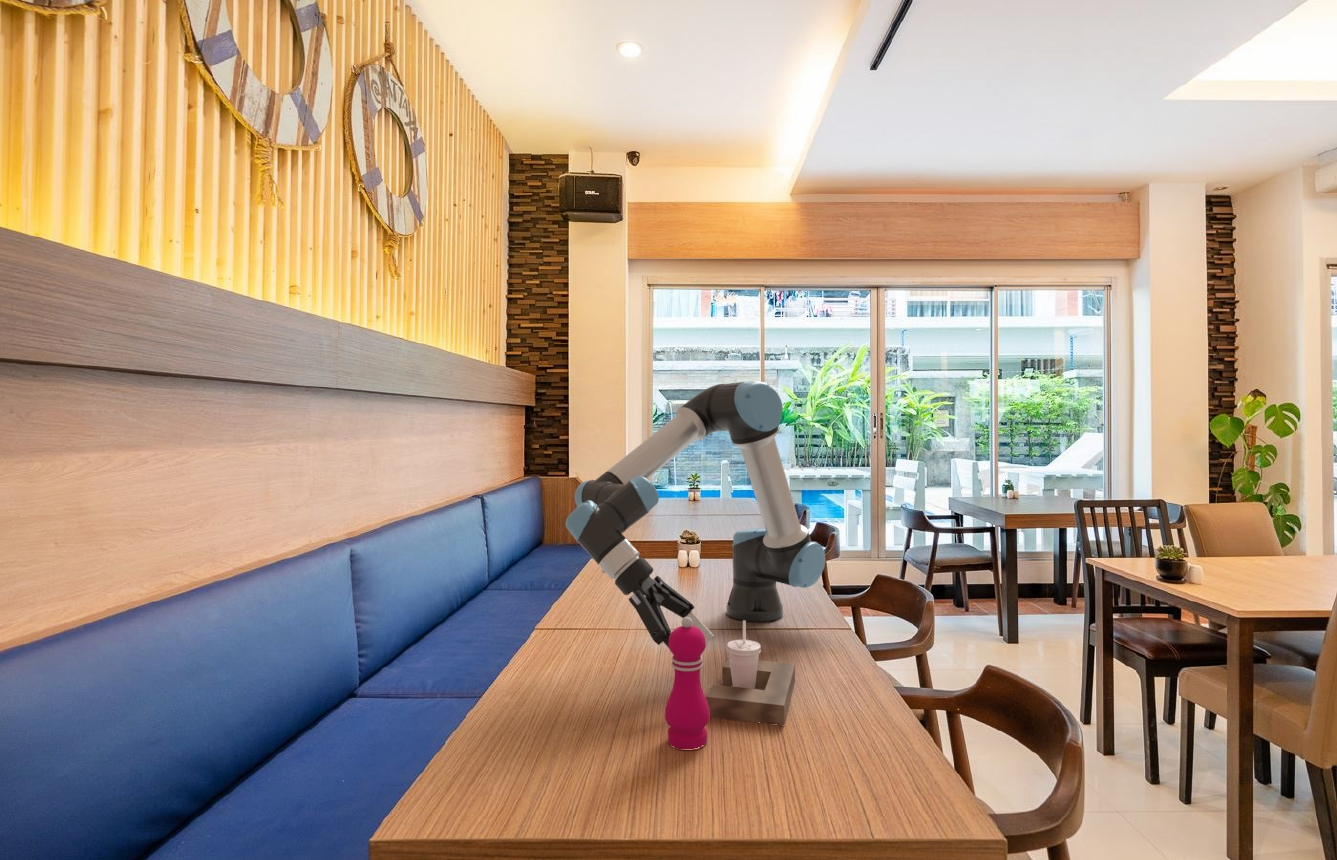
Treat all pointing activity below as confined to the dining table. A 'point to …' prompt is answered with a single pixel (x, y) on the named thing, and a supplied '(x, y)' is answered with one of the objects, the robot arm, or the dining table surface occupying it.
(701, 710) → the pepper mill
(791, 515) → the robot arm
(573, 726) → the dining table surface
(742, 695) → the notched board
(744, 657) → the smoothie
